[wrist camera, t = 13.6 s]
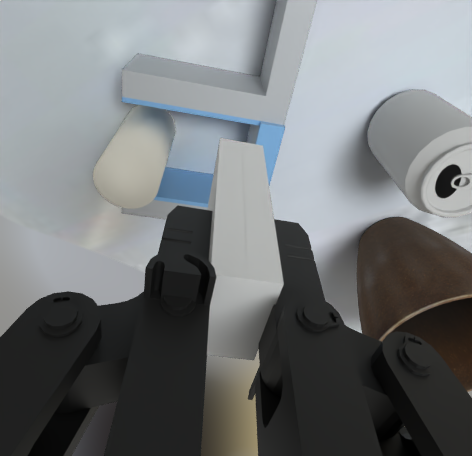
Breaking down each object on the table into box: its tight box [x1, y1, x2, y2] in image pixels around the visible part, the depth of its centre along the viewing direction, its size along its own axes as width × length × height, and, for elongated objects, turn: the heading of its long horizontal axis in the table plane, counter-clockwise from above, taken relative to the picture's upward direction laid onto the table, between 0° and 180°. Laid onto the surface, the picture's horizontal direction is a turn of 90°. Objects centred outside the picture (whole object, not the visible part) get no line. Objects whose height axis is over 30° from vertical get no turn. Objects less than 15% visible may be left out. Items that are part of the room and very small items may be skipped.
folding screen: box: [122, 0, 317, 219], centre depth 31 cm, size 24×13×7 cm, turn 170°
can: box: [367, 89, 472, 217], centre depth 32 cm, size 8×8×12 cm
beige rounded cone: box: [93, 105, 176, 209], centre depth 32 cm, size 5×5×11 cm
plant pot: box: [357, 217, 472, 392], centre depth 39 cm, size 15×15×16 cm
